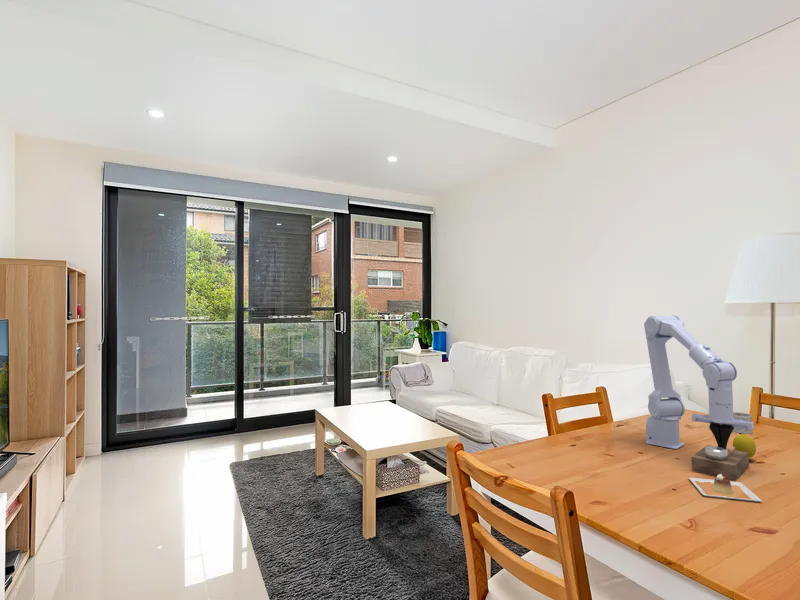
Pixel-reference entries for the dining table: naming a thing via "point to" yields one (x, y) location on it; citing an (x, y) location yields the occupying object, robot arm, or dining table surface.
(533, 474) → the dining table surface
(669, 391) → the robot arm
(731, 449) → the bar
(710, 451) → the silver knob
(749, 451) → the lemon
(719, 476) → the dessert
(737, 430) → the mug
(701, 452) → the socket block
